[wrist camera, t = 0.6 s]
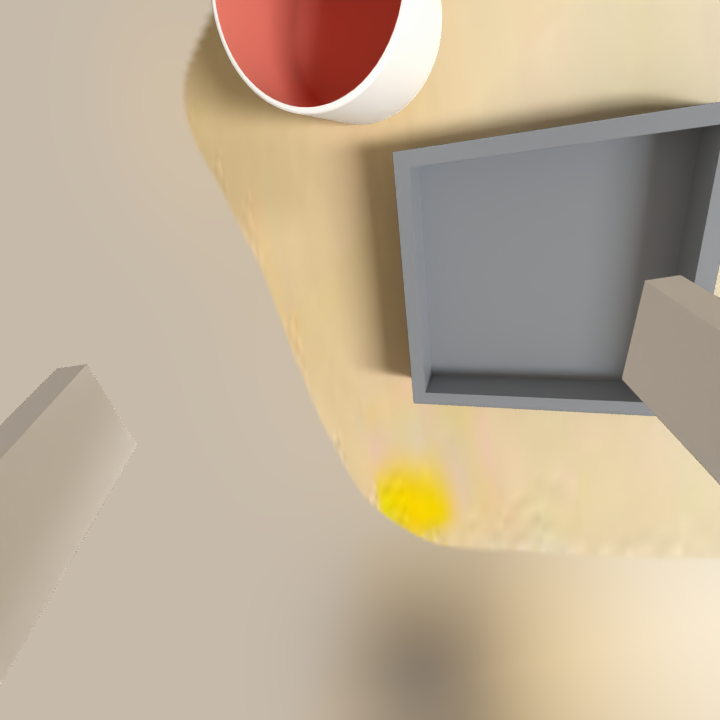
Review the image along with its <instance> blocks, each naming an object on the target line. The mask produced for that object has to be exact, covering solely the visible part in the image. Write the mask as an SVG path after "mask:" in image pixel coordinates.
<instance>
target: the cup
mask: <svg viewBox="0 0 720 720" xmlns="http://www.w3.org/2000/svg"><path fill="white" fill-rule="evenodd" d="M212 7H213V13H214V18H215V22H216V26H217V29H218V33H219V36H220V38H221V41H222V44H223V46H224V49H225V51H226V53H227V55H228V57H229V59H230V61H231V63H232V65H233V66H234V68H235V69H236V71H237V73H238V74H239V75H240V77H241V78H242V79H243V81H244V82H245V83H246V84H247V85H248V86H249V87H250V88H251V89H252V90H253V91H254V92H255V93H256V94H257V95H258V96H260V97H261V98H262V99H263V100H265V101H266V102H268V103H270V104H271V105H273V106H275V107H277V108H279V109H282V110H285V111H288V112H291V113H296V114H301V115H306V116H311V117H316V118H321V119H326V120H332V121H337V122H342V123H347V124H353V125H367V124H373V123H377V122H381V121H383V120H386V119H388V118H390V117H392V116H393V115H395V114H397V113H398V112H399V111H401V110H402V109H403V108H405V107H406V106H407V105H408V104H409V103H410V102H411V101H412V100H413V99H414V98H415V96H416V95H417V94H418V93H419V91H420V90H421V88H422V87H423V85H424V84H425V82H426V80H427V78H428V77H429V74H430V72H431V70H432V68H433V65H434V62H435V60H436V57H437V53H438V49H439V45H440V38H441V30H442V8H441V0H212Z"/></svg>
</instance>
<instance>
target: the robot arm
mask: <svg viewBox="0 0 720 720" xmlns="http://www.w3.org/2000/svg"><path fill="white" fill-rule="evenodd" d="M622 380H623V381H624V382H625V383H626V384H627V385H628V386H629V387H630V388H631V389H632V391H633V392H634V393H635V394H636V395H637V396H638V397H639V398H640V399H641V400H642V401H643V402H644V403H645V405H646V406H647V407H648V408H649V409H650V410H651V411H652V412H653V413H654V414H655V415H656V416H657V418H658V419H659V420H660V421H661V422H662V423H663V424H664V425H665V426H666V427H667V428H668V429H669V430H670V432H671V433H672V434H673V435H674V436H675V437H676V438H677V439H678V440H679V441H680V442H681V443H682V445H683V446H684V447H685V448H686V449H687V450H688V451H689V452H690V453H691V454H692V455H693V456H694V457H695V459H696V460H697V461H698V462H699V463H700V464H701V465H702V466H703V467H704V468H705V469H706V470H707V472H708V473H709V474H710V475H711V476H712V477H713V478H714V479H715V480H716V481H717V482H718V483H719V484H720V298H719V297H717V296H716V295H714V294H712V293H710V292H709V291H707V290H705V289H704V288H702V287H700V286H698V285H697V284H695V283H693V282H691V281H690V280H688V279H686V278H685V277H683V276H681V275H678V276H672V277H665V278H658V279H652V280H645V283H644V287H643V291H642V296H641V300H640V304H639V308H638V312H637V317H636V321H635V325H634V329H633V334H632V338H631V342H630V346H629V350H628V355H627V359H626V363H625V367H624V372H623V376H622ZM136 447H137V444H136V442H135V441H134V439H133V438H132V436H131V435H130V433H129V431H128V430H127V428H126V426H125V425H124V423H123V422H122V420H121V418H120V417H119V415H118V414H117V412H116V410H115V409H114V407H113V405H112V404H111V402H110V401H109V399H108V398H107V396H106V394H105V393H104V391H103V389H102V388H101V386H100V385H99V383H98V381H97V380H96V378H95V377H94V375H93V373H92V372H91V370H90V369H89V367H88V365H87V364H85V365H79V366H72V367H65V368H58V369H56V370H55V371H54V372H53V373H52V374H51V375H50V376H49V377H48V378H47V379H46V380H45V381H44V382H43V383H42V384H41V385H40V386H39V387H38V388H37V389H36V390H35V391H34V392H33V393H32V394H31V395H30V396H29V397H28V398H27V399H26V400H25V401H24V402H23V403H22V404H21V405H20V406H19V407H18V408H17V409H16V410H15V411H14V412H13V413H12V414H11V415H10V416H9V417H8V418H7V419H6V420H5V421H4V422H3V423H2V424H1V425H0V685H1V683H2V682H3V680H4V678H5V676H6V675H7V673H8V671H9V669H10V668H11V666H12V664H13V662H14V661H15V659H16V657H17V655H18V654H19V652H20V650H21V648H22V646H23V645H24V643H25V641H26V640H27V638H28V636H29V634H30V633H31V631H32V629H33V627H34V626H35V624H36V622H37V620H38V619H39V617H40V615H41V613H42V612H43V610H44V608H45V606H46V605H47V603H48V601H49V599H50V597H51V596H52V594H53V592H54V590H55V589H56V587H57V585H58V583H59V581H60V580H61V578H62V576H63V575H64V573H65V571H66V569H67V568H68V566H69V564H70V562H71V561H72V559H73V557H74V555H75V553H76V552H77V550H78V548H79V547H80V545H81V543H82V541H83V540H84V538H85V536H86V534H87V533H88V531H89V529H90V527H91V525H92V524H93V522H94V520H95V519H96V517H97V515H98V513H99V511H100V510H101V508H102V506H103V504H104V503H105V501H106V499H107V497H108V496H109V494H110V492H111V490H112V489H113V487H114V485H115V483H116V482H117V480H118V478H119V476H120V475H121V473H122V471H123V469H124V468H125V466H126V464H127V462H128V460H129V459H130V457H131V455H132V454H133V452H134V450H135V448H136Z"/></svg>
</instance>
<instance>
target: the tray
mask: <svg viewBox="0 0 720 720" xmlns="http://www.w3.org/2000/svg"><path fill="white" fill-rule="evenodd" d="M393 164H394V176H395V188H396V200H397V211H398V223H399V235H400V247H401V259H402V271H403V282H404V294H405V306H406V318H407V330H408V342H409V353H410V365H411V377H412V389H413V401H414V403H419V404H438V405H456V406H475V407H494V408H512V409H531V410H550V411H569V412H587V413H606V414H625V415H643V416H656V415H655V414H654V413H653V412H652V411H651V410H650V409H649V408H648V407H647V406H646V405H645V403H644V402H643V401H642V400H641V399H640V398H639V397H638V396H637V395H636V394H635V393H634V392H633V391H632V389H631V388H630V387H629V386H628V385H627V384H626V383H625V382H624V381H623V380H622V376H623V372H624V367H625V363H626V359H627V355H628V350H629V346H630V342H631V338H632V334H633V329H634V325H635V321H636V317H637V312H638V308H639V304H640V300H641V296H642V291H643V287H644V283H645V280H652V279H658V278H665V277H672V276H678V275H681V276H683V277H685V278H686V279H688V280H690V281H691V282H693V283H695V284H697V285H698V286H700V287H702V288H704V289H705V290H707V291H709V292H710V293H712V294H713V293H714V289H715V284H716V279H717V275H718V270H719V265H720V102H716V103H710V104H703V105H697V106H690V107H684V108H677V109H670V110H664V111H657V112H651V113H644V114H638V115H631V116H625V117H618V118H612V119H605V120H599V121H592V122H586V123H579V124H573V125H566V126H560V127H553V128H546V129H540V130H533V131H527V132H520V133H514V134H507V135H501V136H494V137H488V138H481V139H475V140H468V141H462V142H455V143H449V144H442V145H435V146H429V147H422V148H416V149H409V150H403V151H396V152H393Z"/></svg>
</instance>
